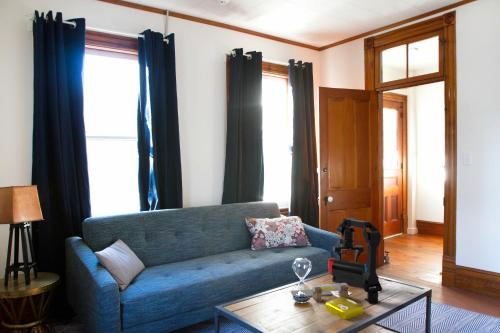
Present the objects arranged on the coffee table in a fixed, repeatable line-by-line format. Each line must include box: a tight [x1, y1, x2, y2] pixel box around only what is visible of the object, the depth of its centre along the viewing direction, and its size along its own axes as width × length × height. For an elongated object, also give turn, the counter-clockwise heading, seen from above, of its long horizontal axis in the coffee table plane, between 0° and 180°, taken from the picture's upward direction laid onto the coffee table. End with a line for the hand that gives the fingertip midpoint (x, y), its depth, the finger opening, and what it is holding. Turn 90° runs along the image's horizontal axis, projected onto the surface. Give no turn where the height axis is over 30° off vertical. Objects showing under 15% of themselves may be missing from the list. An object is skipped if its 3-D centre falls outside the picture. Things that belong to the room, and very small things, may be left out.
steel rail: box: [312, 283, 349, 292], centre depth 214 cm, size 3×20×3 cm, turn 101°
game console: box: [327, 257, 367, 289], centre depth 237 cm, size 28×6×15 cm, turn 56°
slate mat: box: [290, 288, 334, 298], centre depth 221 cm, size 9×23×1 cm, turn 101°
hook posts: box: [311, 285, 349, 303], centre depth 214 cm, size 6×19×8 cm, turn 101°
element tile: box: [325, 297, 364, 320], centre depth 198 cm, size 15×15×5 cm
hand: (348, 261), depth 235 cm, fingers open, 9 cm apart
